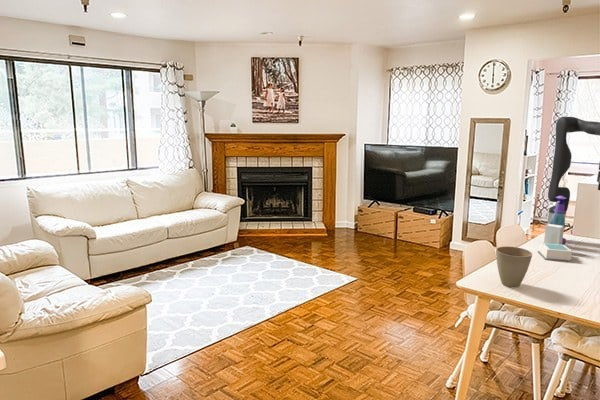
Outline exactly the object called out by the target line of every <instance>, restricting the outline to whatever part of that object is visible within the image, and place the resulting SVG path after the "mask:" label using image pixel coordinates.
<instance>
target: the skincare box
mask: <svg viewBox="0 0 600 400" xmlns="http://www.w3.org/2000/svg"><path fill="white" fill-rule="evenodd" d="M563 230H565V229H564V226H561V225H554V224H547V223H546V225H545V227H544V238H543V239H544V241H543V243H546V244H558V245H562V241H563V238H564V231H563Z"/></svg>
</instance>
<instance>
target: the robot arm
mask: <svg viewBox="0 0 600 400" xmlns="http://www.w3.org/2000/svg"><path fill="white" fill-rule="evenodd" d="M578 132H583V133H586V134H588V135H592V136H593V135H594V136H600V122H599V121H592V120H591V121H589V120H584V119H581V118H578V117H575V116H561V117H559V118H558V119H557V120H556V123H555V145H554V154H553V159H552V160H553V162H552V171H551V176H550V178H551V179H550V183H549V186H548V187H549V188H548V192H547V198H548V200H549V202H551V203H557V198H556V197H558V196H563V197H565V198H566V199H565V200H564V205H565V207H564V211H565V213H564V214H563V215H564V220H565V221H566V216H567V215H566V214H567V211H568V208H569V203H570V198H571V191H570V188H569V187H566V186H563V187H562V186H559V185H560V181H561V180H562V178H563V177H564V175H565V174H566V173H567V172H568V170H569V169H570V167H571V164H572V158H573V157H572V152H571V149H570V147H569V144H568V142H567V133H578ZM597 173H598V174H597V178H596V182H597V184H598V185H597V190H598V191H600V162H599V164H598V172H597ZM554 209H555V205H553V206H551V207H549V209H548V216H547V222H546V225H547V224H550V222H551V219H552V216H553V214H554ZM564 230H565V229H564ZM564 230H563V232H564Z"/></svg>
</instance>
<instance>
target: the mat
mask: <svg viewBox="0 0 600 400" xmlns="http://www.w3.org/2000/svg"><path fill="white" fill-rule="evenodd" d="M537 253H538V254H539V255H540V256H541V257H542V259H544V260H545V261H555V262H567V263H568V262H569V261H570V260H560V259H548V258H545V257H544V256H543V255H542V253H541V252H540V250H537Z"/></svg>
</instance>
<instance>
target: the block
mask: <svg viewBox="0 0 600 400" xmlns="http://www.w3.org/2000/svg"><path fill="white" fill-rule="evenodd" d="M539 251H540V252H541V253H542V255H543V256H544V257H545V258H548V259H560V260H568V261H571V260H572V256H573V251H572V250H571V249H570V248H569V247H567V246H566V244H565V245H558V244H546V243H544V242H543V243H542V242H541V243H540V247H539Z"/></svg>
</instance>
